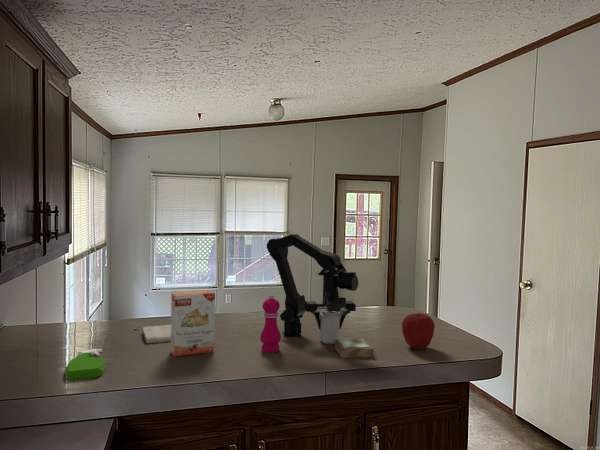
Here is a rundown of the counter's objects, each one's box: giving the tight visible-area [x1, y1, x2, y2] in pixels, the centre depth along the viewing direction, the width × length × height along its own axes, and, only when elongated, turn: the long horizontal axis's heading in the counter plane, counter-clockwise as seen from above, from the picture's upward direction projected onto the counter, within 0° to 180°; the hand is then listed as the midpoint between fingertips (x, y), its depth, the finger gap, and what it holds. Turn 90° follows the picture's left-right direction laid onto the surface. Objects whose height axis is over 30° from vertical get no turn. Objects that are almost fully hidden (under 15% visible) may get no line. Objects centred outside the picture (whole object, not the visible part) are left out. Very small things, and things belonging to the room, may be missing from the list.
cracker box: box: [170, 289, 216, 357], centre depth 161 cm, size 14×6×21 cm, turn 117°
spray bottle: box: [64, 348, 106, 381], centre depth 147 cm, size 3×11×24 cm
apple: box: [401, 312, 436, 351], centre depth 172 cm, size 12×12×13 cm
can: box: [319, 309, 340, 345], centre depth 177 cm, size 8×8×12 cm
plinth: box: [334, 338, 374, 359], centre depth 165 cm, size 11×11×3 cm
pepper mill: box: [260, 293, 282, 354], centre depth 165 cm, size 7×7×20 cm
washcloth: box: [142, 324, 171, 344], centre depth 181 cm, size 12×18×3 cm, turn 24°
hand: (329, 328), depth 177 cm, fingers closed on can, 7 cm apart
